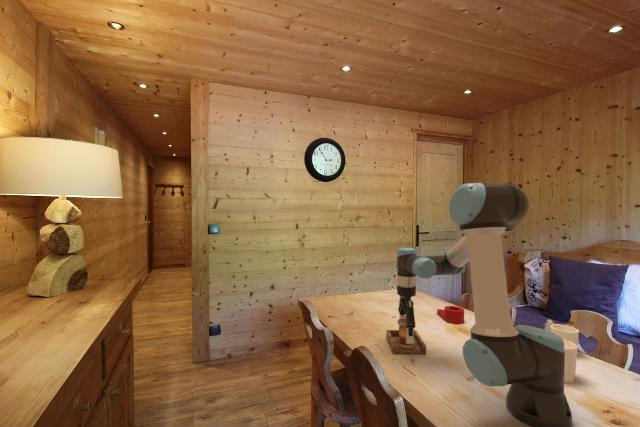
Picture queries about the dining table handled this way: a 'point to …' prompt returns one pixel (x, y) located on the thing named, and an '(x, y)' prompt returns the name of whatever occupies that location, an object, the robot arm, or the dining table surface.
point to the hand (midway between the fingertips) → (406, 336)
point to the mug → (566, 332)
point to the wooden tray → (393, 342)
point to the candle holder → (570, 361)
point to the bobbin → (403, 335)
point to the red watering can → (452, 314)
